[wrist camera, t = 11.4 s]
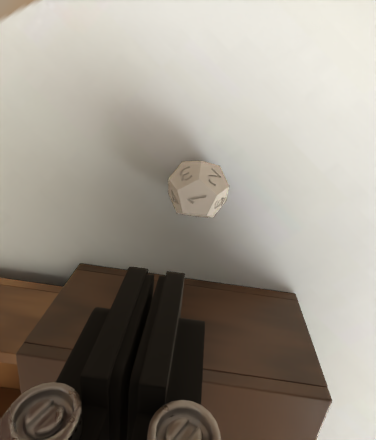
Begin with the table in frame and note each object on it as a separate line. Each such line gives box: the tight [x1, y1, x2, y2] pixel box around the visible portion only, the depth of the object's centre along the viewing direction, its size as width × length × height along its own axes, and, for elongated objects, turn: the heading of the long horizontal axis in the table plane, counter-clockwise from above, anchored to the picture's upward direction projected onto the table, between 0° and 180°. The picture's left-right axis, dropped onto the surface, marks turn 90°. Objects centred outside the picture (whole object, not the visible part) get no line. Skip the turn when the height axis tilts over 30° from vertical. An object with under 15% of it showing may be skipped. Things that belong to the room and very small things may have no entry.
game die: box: [168, 161, 229, 218], centre depth 20 cm, size 4×4×3 cm
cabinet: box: [16, 264, 332, 440], centre depth 23 cm, size 16×14×9 cm
